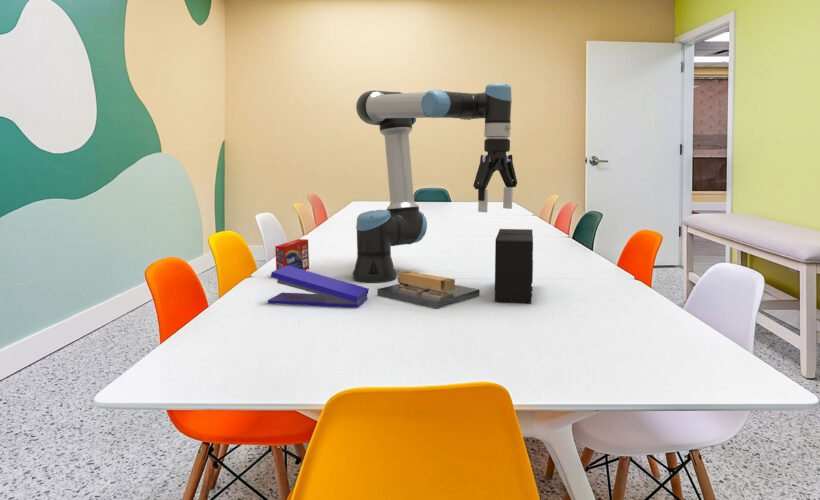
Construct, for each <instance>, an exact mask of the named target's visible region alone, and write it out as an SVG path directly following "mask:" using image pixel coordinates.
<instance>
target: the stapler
mask: <svg viewBox="0 0 820 500" xmlns="http://www.w3.org/2000/svg"><path fill="white" fill-rule="evenodd" d="M270 278H272V279H276V280H277V284H279V285H284V286H287V287H291V288H294V289H298V290H302V291H305V293H302V292H283V291H282V292H280V293H278V294H276V295H275V296H273V297H271V298H269V299H268V300H267V304H269V303H271V304H273V305H289V306H290V305H293V306H296V305H297V306H315V307H317V306H318V307H337V308H338V307H339V308H360V307H361V305H363V304H364V303H366V301H367V300H368V294H369V290H370V288H367V287H365V286H361V285H358V284H354V283H351V282H347V281H344V280H341V279H336V278H333V277H330V276H326V275H323V274H319V273H315V272H312V271H309V270H307V271H306V270H302V269H299V268H295V267H292V266H288V265H287V266H285V267H282V268H280V269H278V270H276V269H275V270H272V271H271V274H270ZM306 292H309V293H306Z"/></svg>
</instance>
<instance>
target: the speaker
mask: <svg viewBox="0 0 820 500" xmlns="http://www.w3.org/2000/svg"><path fill="white" fill-rule="evenodd" d="M533 235H534V234H533V229H531V228H530V229H528V228H527V229H523V228H522V229H521V228H519V229H518V228H516V229H515V228H514V229H513V228H512V229H511V228H499V230H498V233H497V235H496V237H495V241H494V242H495V247H494V248H495V249H494V251H495V252H494V253H495V255H494V259H495V260H494V302H497V303H500V302H503V303H504V302H507V303H508V302H509V303H524V304H529V303H531V304H532V298H533V293H532V292H533V286H532V284H533V277H534V275H533V274H534V260H533V259H534V258H533V257H534V242H533V241H534V236H533Z"/></svg>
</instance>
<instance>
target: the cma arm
mask: <svg viewBox="0 0 820 500" xmlns="http://www.w3.org/2000/svg"><path fill="white" fill-rule="evenodd" d="M399 283H403V284H410V285H415V286H420V287H425V288H431V289H436V290H441V291H450V290H454V289H455V285H456V279H455V278H449V277H444V276H438V275H431V274H427V273H422V272H421V273H420V272H415V271H409V270H400V271H398V272H397V284H399Z"/></svg>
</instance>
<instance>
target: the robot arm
mask: <svg viewBox="0 0 820 500" xmlns="http://www.w3.org/2000/svg"><path fill="white" fill-rule="evenodd" d="M512 100H513V97H512V87H511V85H510V84H508V83H490V84H489V83H488V84H487V85H486V86H485V90H484V92H478V93H471V92H457V91H447V90H446V91H445V90H441V89H439V90H438V89H434V90H432V89H431V90H428V91H421V92H420V91H419V92H408V93H407V92H404V93H403V92H402V91H387V90H385V91H383V90H369V91H365V92H363V93H362V94H361V95H360V96H359V98H358V99H357V101H356V106H355V110H356V113H357V116H358V117H359V118H360V120H361V121H362V122H364V123H366V124H368V125H372V126H378V127H379V134H381V135H382V136H383V137H384V145H385V146H384V147H385V155H386V156H385V158H386V167H387V179H388V191H389V205H388V206H387V207H386V209H376V210H373V209H372V210H370V211H365V212H362V213H360V214H358V215H357V218H356V225H355V226H356V227H355V229H356V247H357V248H356V260H355V265H354V269H353V270H352V280H354V281H356V282H361V283H384V282H390V281H394V280H396V279H397V270H396V269H395V265H394V262H393V259H392V256H391V255H392V252H391V251H392V249H391V248H392V247H396V246H397V247H398V246H402V245H403V246H405V245H412V244H416V243H419V242H420V241H422V240H423V238H424V237H425V235H426V233H427V229H428V221H427V217H426V216H425V214H424V213H423V212H422V211H420V207H419V204H418V203H416V202H415V197H414V184H413V173H412V159H411V148H410V146H411V145H410V137H409V134H410V133H412V131H413V125H414V124H416V122H417V119H423V118H432V119H434V118H435V119H439V118H441V119H442V118H443V119H445V118H446V119H449V118H450V119H459V120H463V121H464V120H465V121H466V120H468V121H470V120H478V119H484V133H483V134H484V135H483V136H484V138H485V139H484V140H483V142H484V145H483V146H484V147H483V149H484V152H485V153H486V154H480V159H479V165H478V168H477V172H476V174H475V178H474V181H473V188H474V189H475V190H478V192H477V195H478V197H477V199H478V205H477V206H478V207H477V212H478V213H488V206H489V205H488V203H489V202H488V199H489V190H488V189H487V187H488V185H489V183H490V181H491V179H492V176H493V174H494V173H495V172H496V171H498V172H499V174H500V177H501V179H502V181H503V184H504V187H503V201H502V203H503V204H502V206H503V207H502V209H508V210H512V209H513V195H514V194H513V191H514V189H513V188H516V187H517V185H518V179H517V176H516V171H515V167H514V163H513V155H512V154H507V153H508V152H510V151H511V139H509V138H510V137H511V122H512V121H511V114H512Z"/></svg>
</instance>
